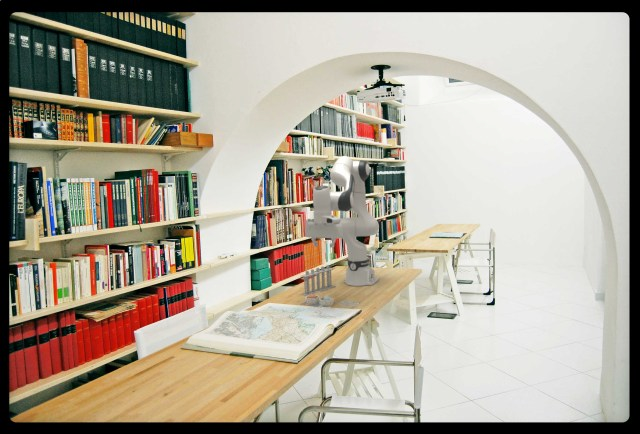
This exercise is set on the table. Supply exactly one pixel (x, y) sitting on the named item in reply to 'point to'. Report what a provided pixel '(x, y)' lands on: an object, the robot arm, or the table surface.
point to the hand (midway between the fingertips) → (323, 246)
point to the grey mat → (348, 303)
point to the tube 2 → (325, 301)
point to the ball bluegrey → (326, 298)
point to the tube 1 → (312, 300)
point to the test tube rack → (306, 276)
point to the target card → (314, 304)
